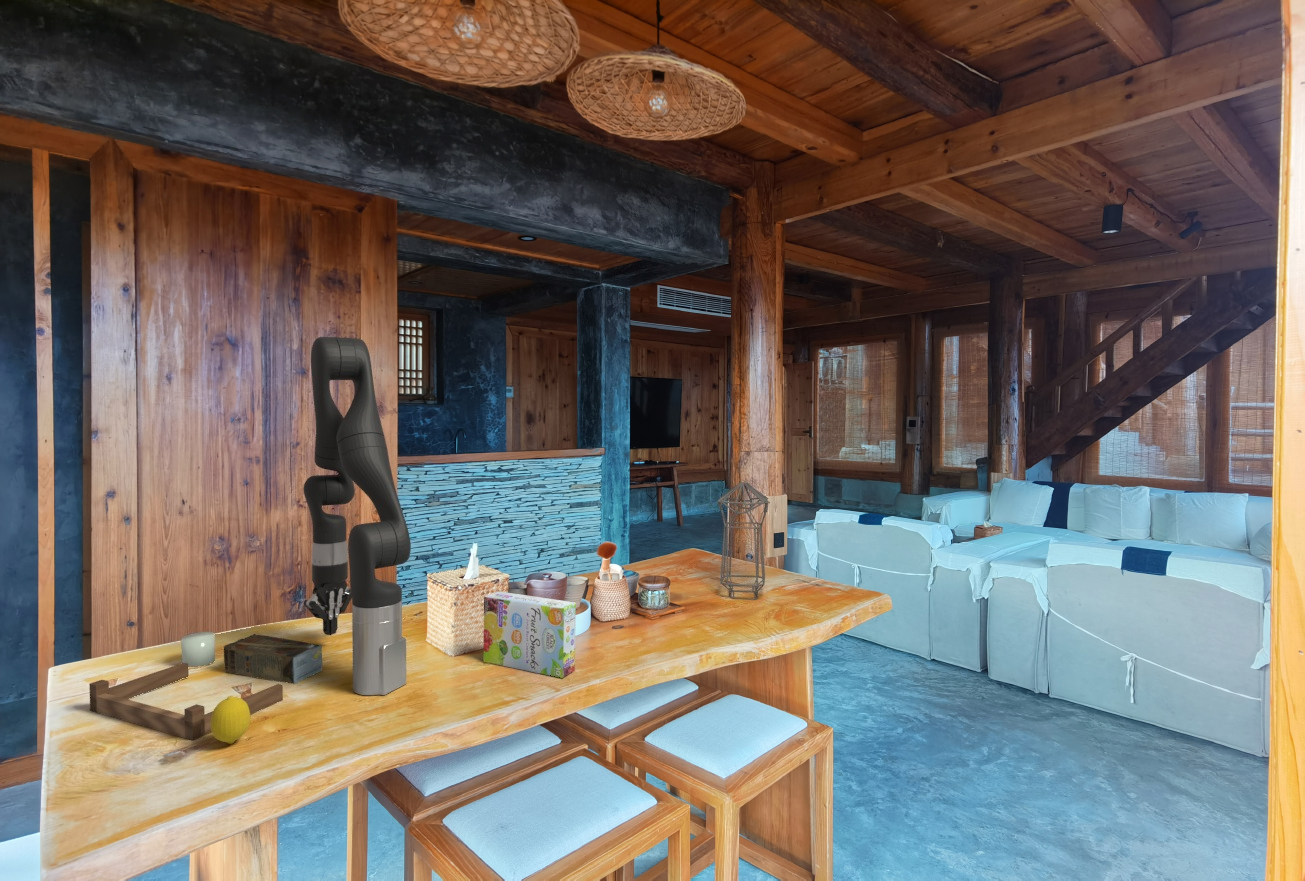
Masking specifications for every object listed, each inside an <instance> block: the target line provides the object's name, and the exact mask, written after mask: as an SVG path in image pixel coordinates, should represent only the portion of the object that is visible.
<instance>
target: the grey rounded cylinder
mask: <svg viewBox="0 0 1305 881" xmlns="http://www.w3.org/2000/svg"><path fill="white" fill-rule="evenodd" d="M180 642H181V664H182V663H188V667H198V666H204V665H207V664H210V663H212V664H214V663H215V662H216V634H215V633H214V632H212V631H200V632H199V631H198V632H194V633H189V634H187V635H185V636H182V637H181V641H180ZM214 661H215V662H214ZM213 662H214V663H213ZM210 665H211V664H210Z"/></svg>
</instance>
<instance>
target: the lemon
mask: <svg viewBox="0 0 1305 881" xmlns="http://www.w3.org/2000/svg"><path fill="white" fill-rule="evenodd" d="M212 711H213V713H212V717H211V731H212V732H211V733H212V735H213V737H214V738H215V739H216V740H218V741H220V742H222V743H224V742H225V743H227V744H229V745H232V744H234V743H235V742H236V740H239V739H240V738H242V736H244V735H245V733H247V730H248V729H249V725H250V722H251V715H250V711H249V707H248V705H247V703H246V702H245V701H244V700H243V698H241V697H238V696H237V697H236V696H233V695H230V696H227V697H226V698H224V699H223V700H221V701H220V702H218V704H217V705H216V706H215V707H214V709H213V710H212Z"/></svg>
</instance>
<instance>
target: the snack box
mask: <svg viewBox="0 0 1305 881" xmlns="http://www.w3.org/2000/svg"><path fill="white" fill-rule="evenodd" d="M576 605H577V603H576V602H575V601H568V600H559V599H553V598H547V597H546V598H545V597H542V596H541V597H540V596H534V595H533V596H532V595H527V594H518V593H514V592H513V593H511V592H505V591H495V592H493V593H490V594H487V595H485V596H484V597H483V658H482V659H483V662H484V663H488V664H493V665H498V666H503V667H507V668H511V669H517V670H522V671H525V672H530V673H536V674H539V675H540V674H541V675H545V676H546V675H547V676H550V675H551V676H550V677H554V676H555V678H559V677H560V678H559V679H564V678H565V677H567V676H568V675H570V674H572V673H573V671H574V672H575V671H576V620H577V619H576V615H577V614H576V612H577V611H576V608H577V607H576ZM571 672H572V673H571ZM566 675H567V676H566Z"/></svg>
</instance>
